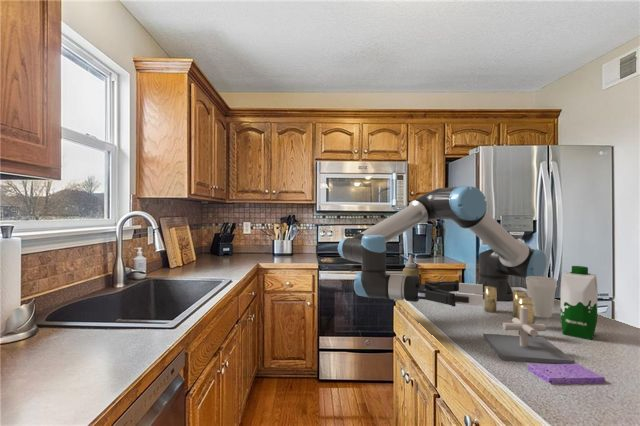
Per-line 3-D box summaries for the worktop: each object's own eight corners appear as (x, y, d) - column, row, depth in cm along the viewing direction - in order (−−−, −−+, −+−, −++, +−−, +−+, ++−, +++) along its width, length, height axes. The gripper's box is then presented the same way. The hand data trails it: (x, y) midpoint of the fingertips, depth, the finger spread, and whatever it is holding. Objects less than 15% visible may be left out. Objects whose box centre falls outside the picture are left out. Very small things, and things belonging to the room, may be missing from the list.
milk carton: (598, 334, 105) (598, 267, 105) (595, 342, 98) (595, 271, 98) (563, 327, 111) (563, 264, 111) (558, 334, 104) (558, 267, 104)
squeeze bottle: (401, 298, 148) (401, 255, 148) (400, 293, 156) (400, 253, 156) (421, 299, 147) (421, 256, 147) (419, 294, 155) (419, 254, 155)
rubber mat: (543, 340, 99) (543, 337, 99) (574, 364, 83) (574, 360, 83) (483, 337, 102) (483, 333, 102) (502, 359, 86) (502, 355, 86)
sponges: (527, 371, 81) (527, 363, 81) (579, 370, 81) (579, 362, 81) (548, 386, 74) (548, 377, 74) (605, 385, 74) (605, 376, 74)
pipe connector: (533, 339, 97) (534, 303, 97) (554, 354, 87) (554, 314, 87) (496, 338, 98) (496, 302, 98) (512, 352, 88) (512, 312, 88)
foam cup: (557, 320, 118) (557, 282, 118) (525, 316, 123) (525, 279, 123) (555, 313, 126) (556, 277, 126) (526, 309, 131) (526, 275, 131)
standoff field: (516, 311, 129) (516, 286, 129) (556, 339, 100) (556, 308, 100) (483, 309, 131) (483, 285, 131) (512, 336, 102) (512, 305, 102)
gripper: (412, 291, 117) (482, 297, 108) (396, 311, 94) (483, 321, 85) (412, 269, 117) (482, 273, 108) (396, 283, 94) (483, 290, 85)
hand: (483, 294), depth 96 cm, fingers open, 13 cm apart
